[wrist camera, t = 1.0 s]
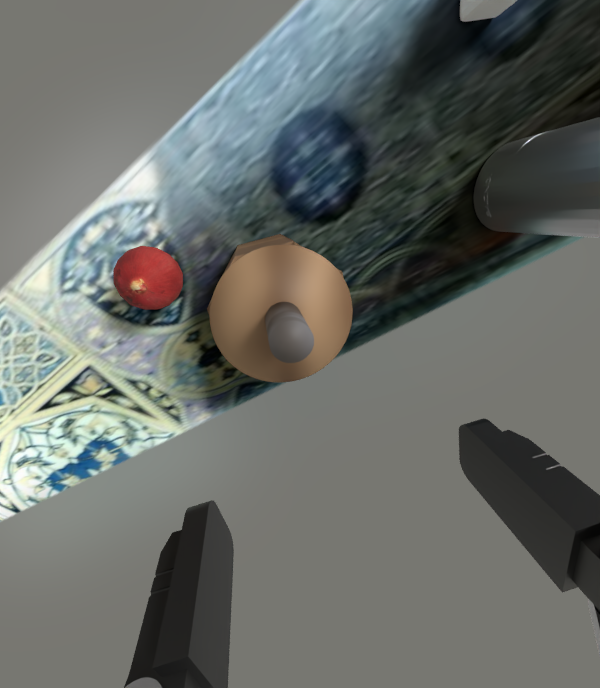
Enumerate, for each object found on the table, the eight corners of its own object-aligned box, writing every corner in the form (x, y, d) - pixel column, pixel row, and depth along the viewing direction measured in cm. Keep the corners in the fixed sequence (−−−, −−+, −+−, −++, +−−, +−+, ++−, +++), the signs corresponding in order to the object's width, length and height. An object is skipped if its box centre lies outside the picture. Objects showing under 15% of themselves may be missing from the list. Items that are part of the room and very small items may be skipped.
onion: (161, 309, 34) (138, 335, 26) (117, 269, 32) (78, 285, 24) (200, 275, 33) (186, 291, 26) (157, 231, 31) (129, 235, 24)
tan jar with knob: (310, 223, 33) (361, 229, 18) (331, 322, 38) (384, 389, 23) (205, 251, 32) (170, 281, 18) (239, 348, 37) (234, 434, 22)
